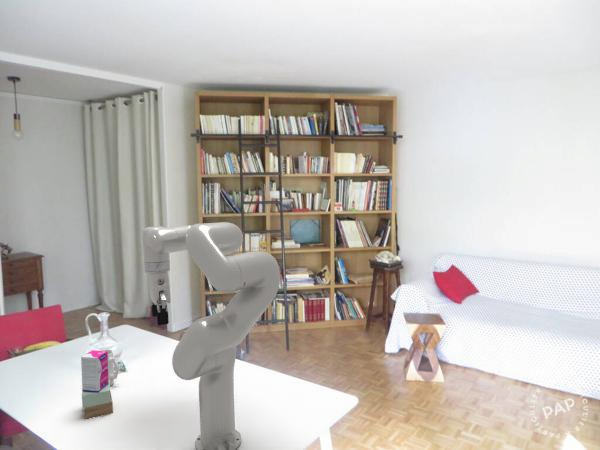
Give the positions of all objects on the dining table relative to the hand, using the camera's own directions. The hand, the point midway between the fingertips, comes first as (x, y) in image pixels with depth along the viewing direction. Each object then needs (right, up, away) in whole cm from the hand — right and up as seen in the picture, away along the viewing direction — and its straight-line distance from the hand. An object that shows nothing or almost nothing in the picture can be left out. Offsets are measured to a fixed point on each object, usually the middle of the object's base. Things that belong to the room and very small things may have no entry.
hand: (160, 320), depth 136 cm
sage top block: (-22, -27, +4) cm, 34 cm away
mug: (-26, -29, +22) cm, 45 cm away
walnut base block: (-21, -30, +4) cm, 37 cm away
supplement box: (-22, -23, +3) cm, 32 cm away
